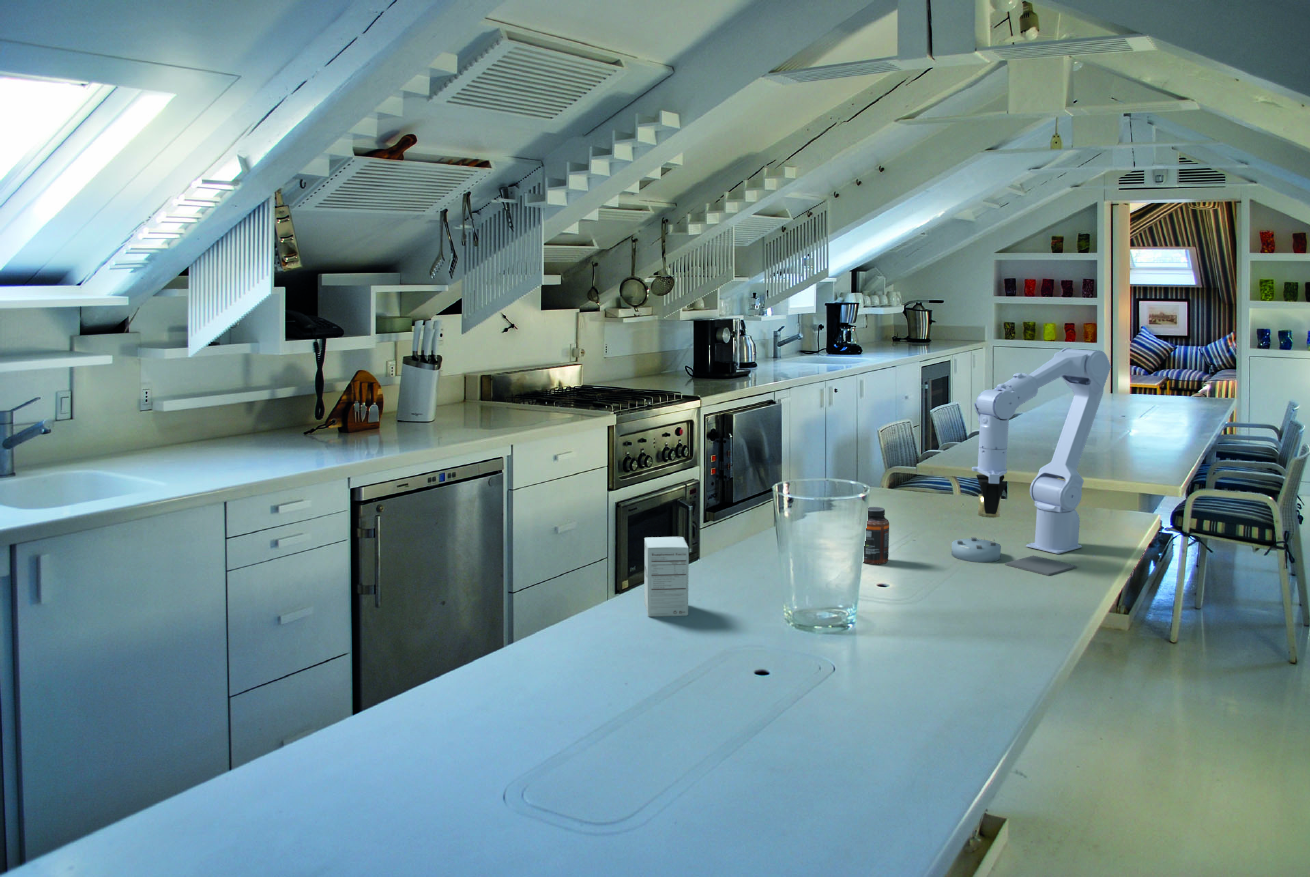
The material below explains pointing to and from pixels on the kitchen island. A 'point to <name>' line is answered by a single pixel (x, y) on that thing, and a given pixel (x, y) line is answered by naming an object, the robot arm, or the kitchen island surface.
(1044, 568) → the mat
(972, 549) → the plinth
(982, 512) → the knob
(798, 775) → the kitchen island surface
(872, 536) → the supplement bottle
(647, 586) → the supplement box
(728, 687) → the kitchen island surface
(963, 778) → the kitchen island surface
